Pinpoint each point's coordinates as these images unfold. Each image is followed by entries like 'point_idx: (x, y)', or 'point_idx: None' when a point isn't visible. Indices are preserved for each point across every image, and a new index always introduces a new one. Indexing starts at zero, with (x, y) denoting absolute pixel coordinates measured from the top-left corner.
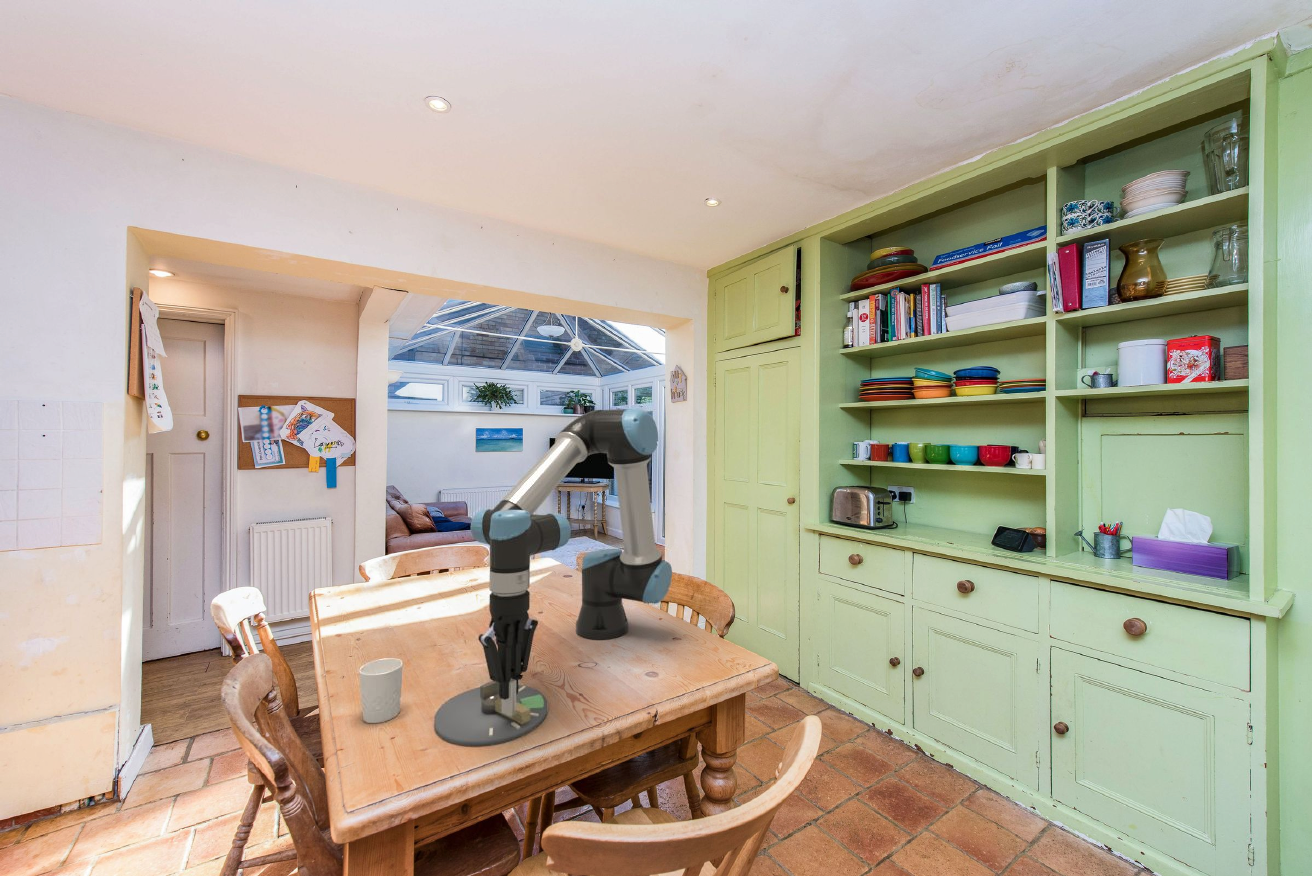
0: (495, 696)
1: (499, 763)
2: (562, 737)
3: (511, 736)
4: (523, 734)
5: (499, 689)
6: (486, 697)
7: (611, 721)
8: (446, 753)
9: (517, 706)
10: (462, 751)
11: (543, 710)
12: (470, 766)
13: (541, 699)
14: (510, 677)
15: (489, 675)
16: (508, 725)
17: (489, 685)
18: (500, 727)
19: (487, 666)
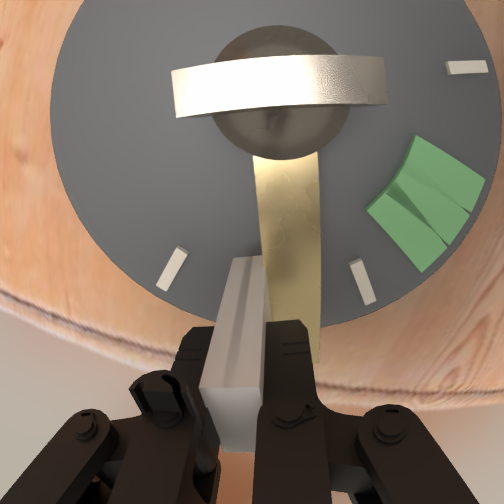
0: (275, 132)
1: (152, 361)
2: (340, 387)
3: None
4: None
5: (173, 367)
6: (217, 115)
7: (451, 397)
8: (55, 222)
9: (294, 313)
10: (89, 247)
11: (410, 281)
12: (91, 319)
13: (461, 218)
14: (216, 478)
15: (53, 437)
16: None
17: (232, 108)
18: (217, 263)
19: (7, 493)
